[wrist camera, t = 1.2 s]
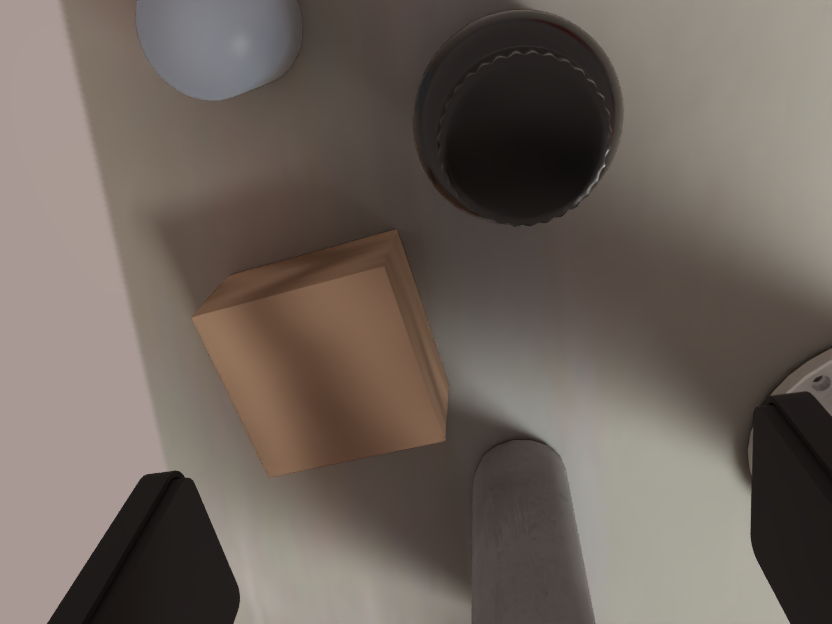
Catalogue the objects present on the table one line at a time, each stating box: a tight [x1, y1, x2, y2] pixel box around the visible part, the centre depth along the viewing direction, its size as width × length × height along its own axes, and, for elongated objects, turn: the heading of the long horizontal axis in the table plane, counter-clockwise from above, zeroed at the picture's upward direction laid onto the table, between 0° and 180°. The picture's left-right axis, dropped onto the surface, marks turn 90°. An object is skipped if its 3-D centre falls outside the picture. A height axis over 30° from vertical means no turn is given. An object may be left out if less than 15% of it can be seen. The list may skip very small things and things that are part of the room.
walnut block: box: [191, 229, 449, 478], centre depth 32 cm, size 9×9×5 cm
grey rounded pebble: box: [136, 0, 303, 101], centre depth 27 cm, size 5×5×5 cm
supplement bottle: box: [413, 10, 623, 227], centre depth 24 cm, size 7×7×12 cm
